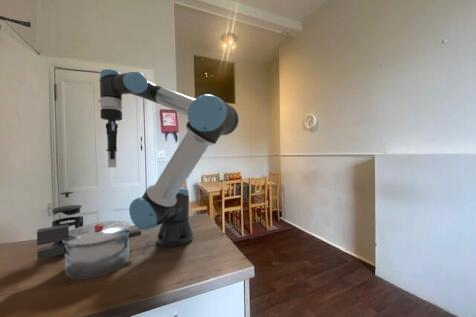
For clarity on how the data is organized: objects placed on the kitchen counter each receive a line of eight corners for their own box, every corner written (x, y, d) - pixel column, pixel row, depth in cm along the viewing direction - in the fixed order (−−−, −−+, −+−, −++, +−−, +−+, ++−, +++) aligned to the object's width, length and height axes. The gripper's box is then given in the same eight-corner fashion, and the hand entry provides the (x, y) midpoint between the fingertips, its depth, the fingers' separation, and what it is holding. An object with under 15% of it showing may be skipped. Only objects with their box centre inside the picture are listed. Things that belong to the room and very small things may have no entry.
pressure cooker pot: (136, 244, 85) (135, 220, 84) (145, 262, 70) (145, 233, 70) (44, 266, 68) (43, 236, 68) (32, 296, 53) (31, 258, 53)
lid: (124, 221, 83) (124, 209, 83) (136, 235, 68) (135, 221, 68) (41, 236, 67) (41, 222, 67) (33, 259, 53) (33, 241, 52)
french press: (66, 257, 74) (65, 194, 73) (42, 257, 74) (41, 194, 74) (92, 243, 85) (91, 189, 85) (71, 243, 86) (70, 189, 86)
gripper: (99, 111, 86) (100, 166, 86) (101, 105, 75) (102, 168, 76) (120, 113, 90) (120, 166, 91) (124, 108, 80) (124, 167, 80)
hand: (112, 167), depth 83 cm, fingers closed
